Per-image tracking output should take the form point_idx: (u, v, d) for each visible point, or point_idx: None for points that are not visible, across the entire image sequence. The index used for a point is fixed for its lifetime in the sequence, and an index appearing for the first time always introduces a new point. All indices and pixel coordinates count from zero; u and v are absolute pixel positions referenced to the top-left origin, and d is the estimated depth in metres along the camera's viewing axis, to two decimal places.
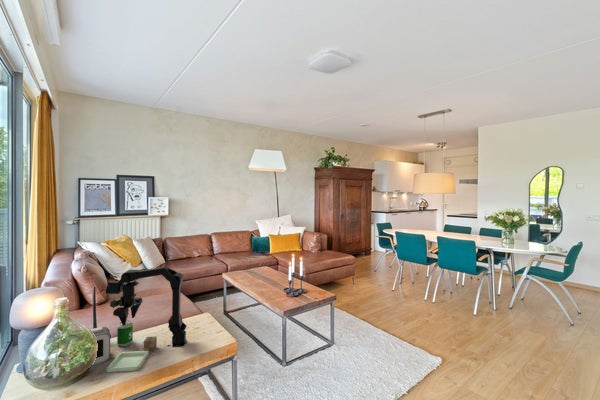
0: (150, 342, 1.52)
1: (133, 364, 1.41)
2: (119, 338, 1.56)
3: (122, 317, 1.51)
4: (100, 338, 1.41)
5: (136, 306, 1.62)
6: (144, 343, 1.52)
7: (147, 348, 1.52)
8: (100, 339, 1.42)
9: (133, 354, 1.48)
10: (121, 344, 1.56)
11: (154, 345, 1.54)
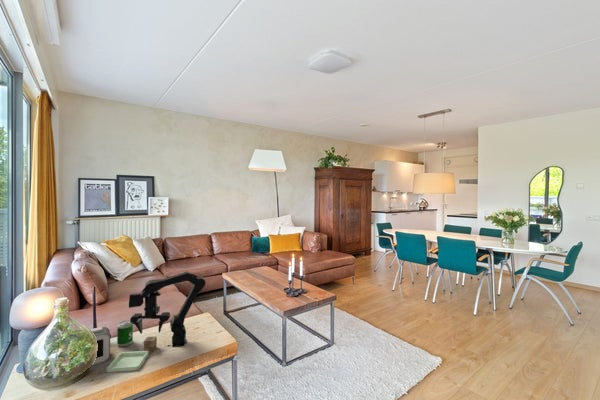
0: (150, 342, 1.52)
1: (133, 364, 1.41)
2: (119, 338, 1.56)
3: None
4: (100, 338, 1.41)
5: None
6: (144, 343, 1.52)
7: (147, 348, 1.52)
8: (100, 339, 1.42)
9: (133, 354, 1.48)
10: (121, 344, 1.56)
11: (154, 345, 1.54)
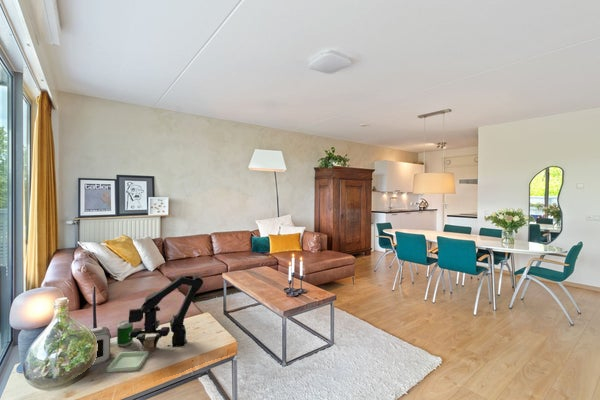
0: (150, 342, 1.52)
1: (133, 364, 1.41)
2: (119, 338, 1.56)
3: None
4: (100, 338, 1.41)
5: None
6: (144, 343, 1.52)
7: (148, 348, 1.52)
8: (100, 339, 1.42)
9: (133, 354, 1.48)
10: (121, 344, 1.56)
11: None
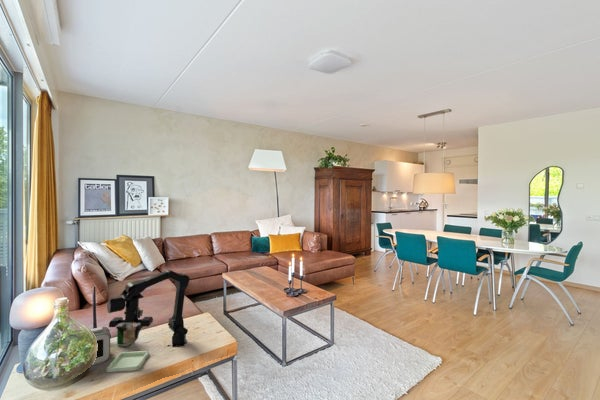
0: (131, 332, 1.41)
1: (133, 364, 1.41)
2: (119, 338, 1.56)
3: None
4: (100, 338, 1.41)
5: None
6: (124, 333, 1.41)
7: (128, 339, 1.41)
8: (100, 339, 1.42)
9: (133, 354, 1.48)
10: (121, 344, 1.56)
11: None
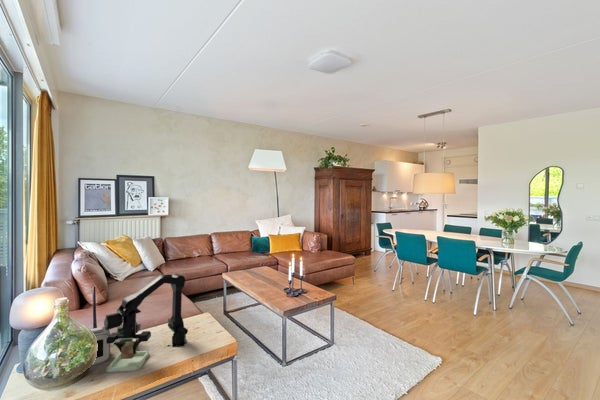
0: (129, 348, 1.40)
1: (133, 364, 1.41)
2: None
3: None
4: (100, 338, 1.41)
5: None
6: (122, 349, 1.39)
7: (126, 355, 1.40)
8: (100, 339, 1.42)
9: None
10: None
11: (133, 351, 1.41)
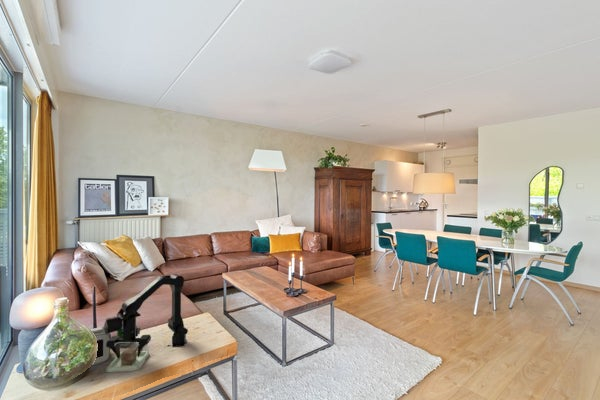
0: (129, 354, 1.40)
1: (133, 364, 1.41)
2: None
3: None
4: (100, 338, 1.41)
5: None
6: (122, 355, 1.40)
7: (126, 361, 1.40)
8: (100, 339, 1.42)
9: None
10: (121, 344, 1.56)
11: (133, 357, 1.41)
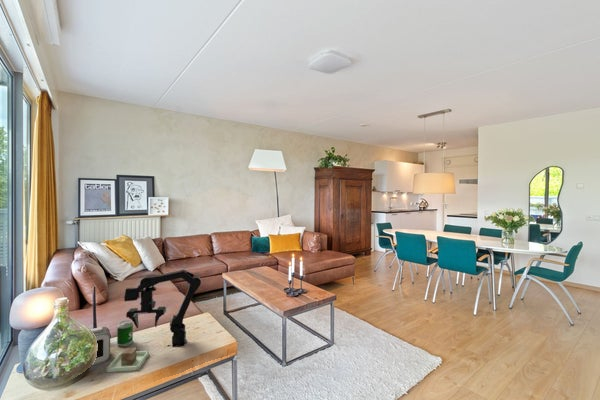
0: (129, 354, 1.40)
1: (133, 364, 1.41)
2: (119, 338, 1.56)
3: None
4: (100, 338, 1.41)
5: None
6: (122, 355, 1.40)
7: (126, 361, 1.40)
8: (100, 339, 1.42)
9: None
10: (121, 344, 1.56)
11: (133, 357, 1.41)
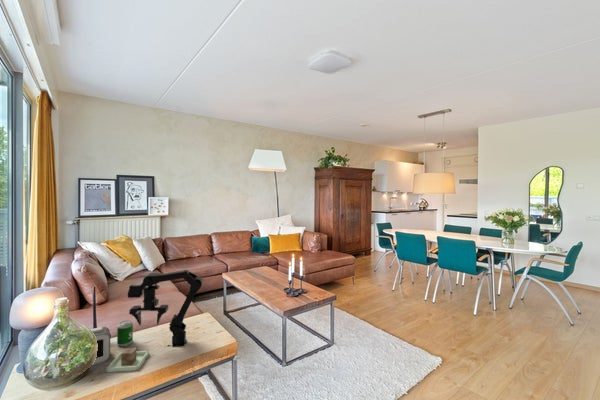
0: (129, 354, 1.40)
1: (133, 364, 1.41)
2: (119, 338, 1.56)
3: None
4: (100, 338, 1.41)
5: None
6: (122, 355, 1.40)
7: (126, 361, 1.40)
8: (100, 339, 1.42)
9: None
10: (121, 344, 1.56)
11: (133, 357, 1.41)
